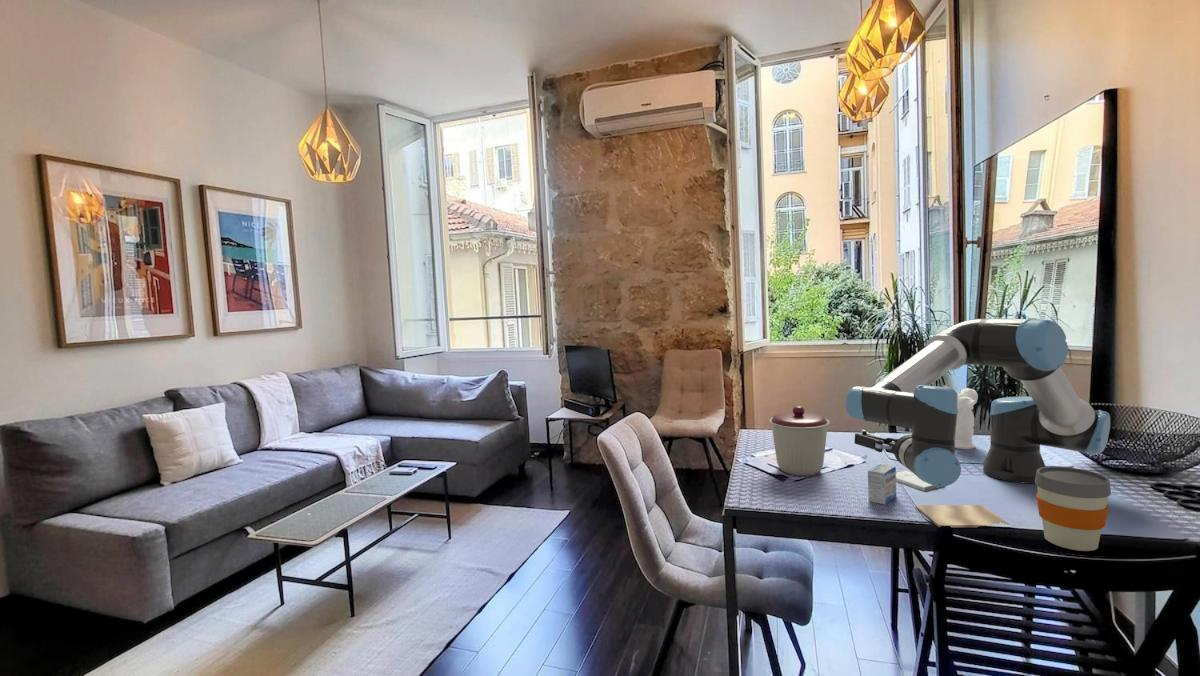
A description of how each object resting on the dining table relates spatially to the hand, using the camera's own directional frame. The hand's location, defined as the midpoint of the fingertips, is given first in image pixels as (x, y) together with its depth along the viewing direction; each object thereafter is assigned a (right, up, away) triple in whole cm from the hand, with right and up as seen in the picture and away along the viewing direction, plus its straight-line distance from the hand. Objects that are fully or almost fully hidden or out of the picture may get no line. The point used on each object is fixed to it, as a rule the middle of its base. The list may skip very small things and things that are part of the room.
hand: (891, 437), depth 140 cm
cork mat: (+14, -19, -5) cm, 24 cm away
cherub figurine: (+51, -13, +48) cm, 71 cm away
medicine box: (+2, -19, +8) cm, 20 cm away
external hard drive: (+18, -17, +19) cm, 31 cm away
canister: (-11, -17, +34) cm, 40 cm away
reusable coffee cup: (+29, -19, -20) cm, 40 cm away
